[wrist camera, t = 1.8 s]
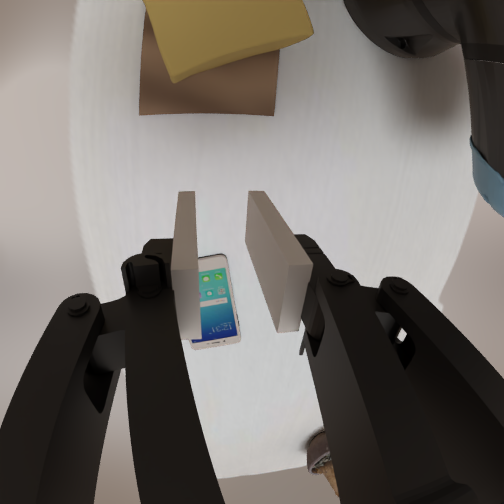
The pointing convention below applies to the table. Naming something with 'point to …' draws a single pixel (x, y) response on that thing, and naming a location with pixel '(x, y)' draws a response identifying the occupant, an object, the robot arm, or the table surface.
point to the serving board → (207, 84)
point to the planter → (321, 460)
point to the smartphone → (216, 304)
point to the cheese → (223, 31)
